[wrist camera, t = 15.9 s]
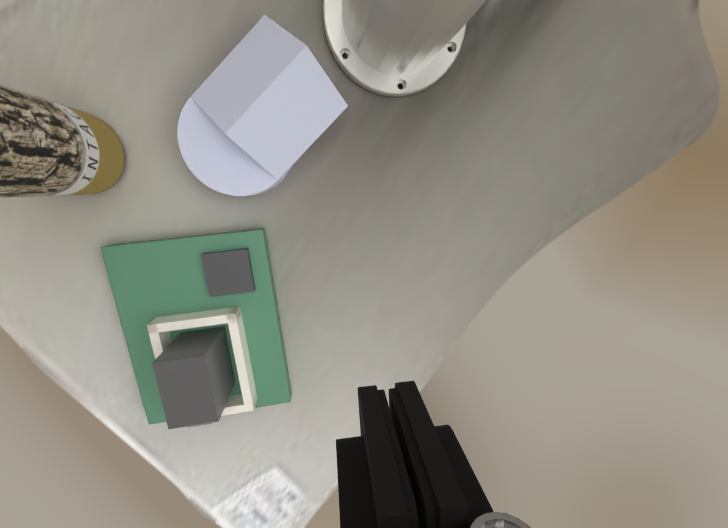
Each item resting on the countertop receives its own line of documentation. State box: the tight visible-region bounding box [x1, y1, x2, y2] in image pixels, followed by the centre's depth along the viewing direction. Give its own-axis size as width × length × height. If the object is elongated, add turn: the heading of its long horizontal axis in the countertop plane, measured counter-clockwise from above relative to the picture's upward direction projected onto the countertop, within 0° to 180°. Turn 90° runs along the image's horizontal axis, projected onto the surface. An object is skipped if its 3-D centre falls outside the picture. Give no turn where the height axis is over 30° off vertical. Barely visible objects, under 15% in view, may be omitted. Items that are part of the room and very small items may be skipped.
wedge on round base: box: [177, 15, 348, 196], centre depth 28 cm, size 9×7×13 cm
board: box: [101, 228, 292, 424], centre depth 33 cm, size 18×14×4 cm
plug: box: [152, 326, 235, 429], centre depth 31 cm, size 7×4×6 cm, turn 5°
